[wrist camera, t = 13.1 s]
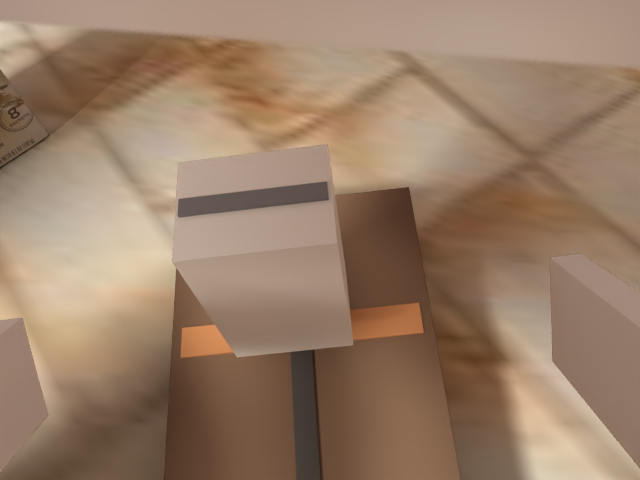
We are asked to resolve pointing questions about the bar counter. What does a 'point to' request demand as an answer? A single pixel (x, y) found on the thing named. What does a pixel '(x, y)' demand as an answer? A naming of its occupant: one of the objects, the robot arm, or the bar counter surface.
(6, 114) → the cookie box
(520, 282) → the bar counter surface
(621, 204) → the bar counter surface
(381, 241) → the brown slab
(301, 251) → the fader
